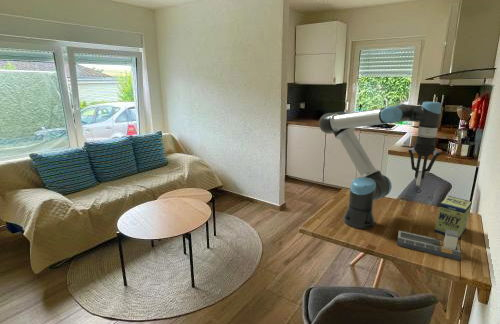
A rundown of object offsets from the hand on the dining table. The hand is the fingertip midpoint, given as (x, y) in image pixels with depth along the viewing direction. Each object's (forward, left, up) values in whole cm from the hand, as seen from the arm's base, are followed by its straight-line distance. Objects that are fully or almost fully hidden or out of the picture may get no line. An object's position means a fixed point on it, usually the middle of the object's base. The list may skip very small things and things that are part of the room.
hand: (417, 184), depth 142 cm
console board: (+7, -13, -24) cm, 29 cm away
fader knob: (+15, -13, -22) cm, 30 cm away
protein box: (+18, +10, -25) cm, 32 cm away
